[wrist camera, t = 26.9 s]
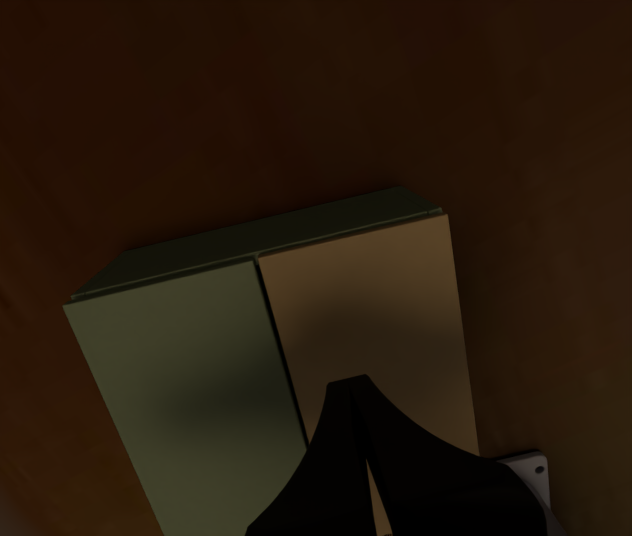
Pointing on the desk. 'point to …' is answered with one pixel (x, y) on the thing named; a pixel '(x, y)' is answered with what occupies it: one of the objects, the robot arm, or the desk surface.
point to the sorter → (210, 361)
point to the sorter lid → (377, 326)
